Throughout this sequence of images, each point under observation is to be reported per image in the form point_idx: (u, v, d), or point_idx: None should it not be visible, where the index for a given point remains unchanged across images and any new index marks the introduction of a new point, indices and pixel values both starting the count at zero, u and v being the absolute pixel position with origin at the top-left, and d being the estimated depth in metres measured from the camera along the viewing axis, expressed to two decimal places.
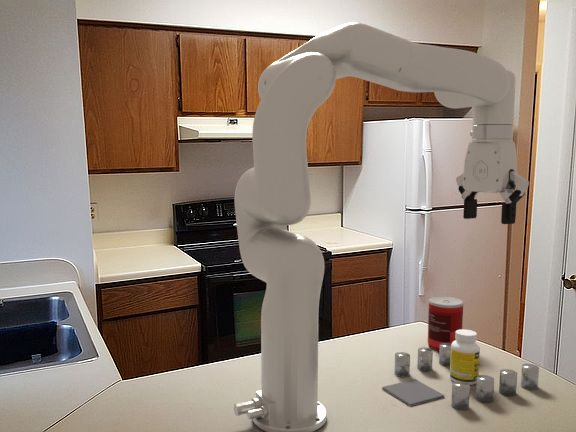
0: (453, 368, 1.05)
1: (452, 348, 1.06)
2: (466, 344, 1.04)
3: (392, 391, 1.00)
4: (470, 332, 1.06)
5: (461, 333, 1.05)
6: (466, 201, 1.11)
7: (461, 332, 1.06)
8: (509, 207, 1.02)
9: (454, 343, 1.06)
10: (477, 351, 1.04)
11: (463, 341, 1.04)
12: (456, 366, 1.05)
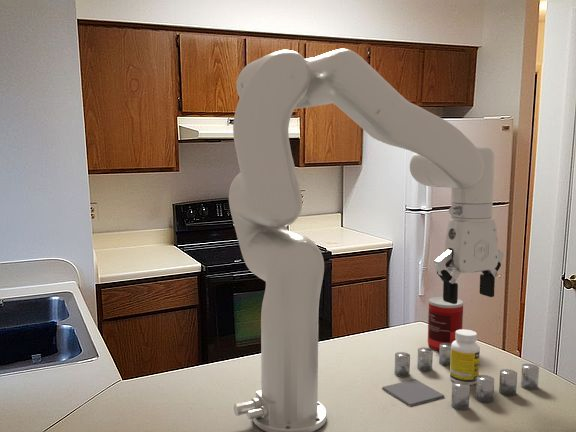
0: (453, 368, 1.05)
1: (452, 348, 1.06)
2: (466, 344, 1.04)
3: (392, 391, 1.00)
4: (470, 332, 1.06)
5: (461, 333, 1.05)
6: None
7: (461, 332, 1.06)
8: None
9: (454, 343, 1.06)
10: (477, 351, 1.04)
11: (463, 341, 1.04)
12: (456, 366, 1.05)
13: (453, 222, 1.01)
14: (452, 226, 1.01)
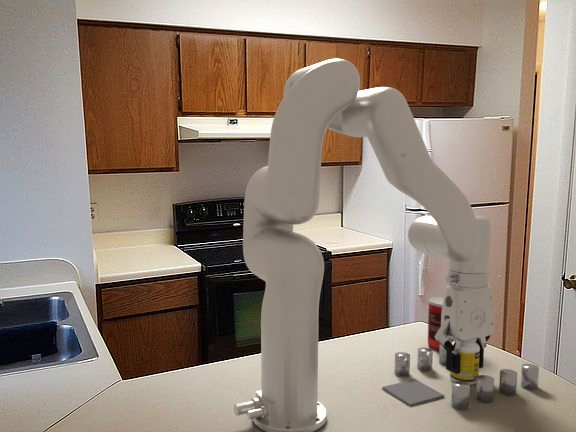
0: None
1: None
2: (466, 344, 1.04)
3: (392, 391, 1.00)
4: None
5: None
6: (460, 355, 1.03)
7: None
8: None
9: None
10: (477, 351, 1.04)
11: (463, 341, 1.04)
12: None
13: (450, 290, 1.03)
14: (449, 294, 1.03)
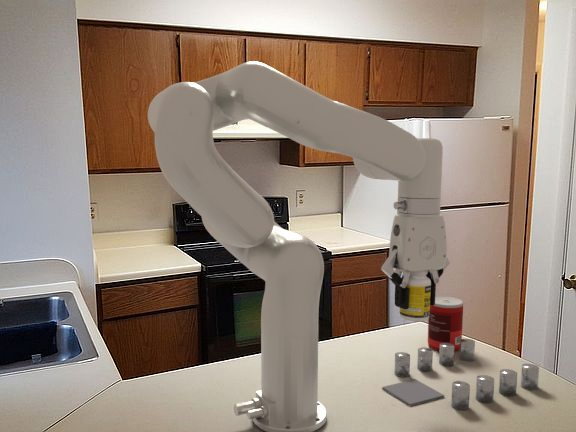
0: None
1: None
2: (416, 277, 0.96)
3: (392, 391, 1.00)
4: None
5: None
6: (408, 289, 0.96)
7: None
8: None
9: None
10: (428, 285, 0.96)
11: (412, 274, 0.97)
12: None
13: (398, 218, 0.95)
14: (397, 222, 0.95)
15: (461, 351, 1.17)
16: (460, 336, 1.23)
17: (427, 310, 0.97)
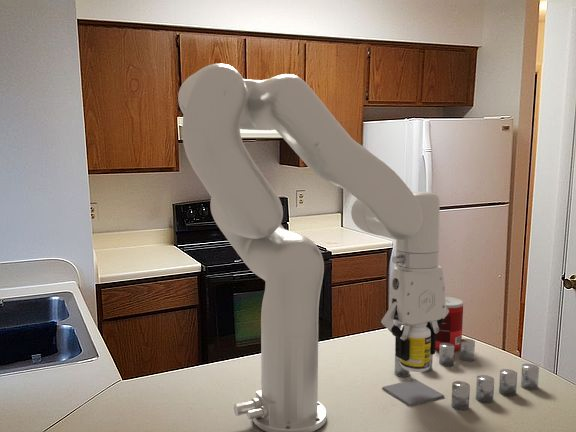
0: None
1: None
2: (416, 329, 0.98)
3: (392, 391, 1.00)
4: None
5: None
6: (408, 341, 0.97)
7: None
8: None
9: None
10: (428, 336, 0.98)
11: (412, 325, 0.98)
12: None
13: (397, 271, 0.96)
14: (396, 275, 0.96)
15: (461, 351, 1.17)
16: (460, 336, 1.23)
17: (427, 361, 0.98)
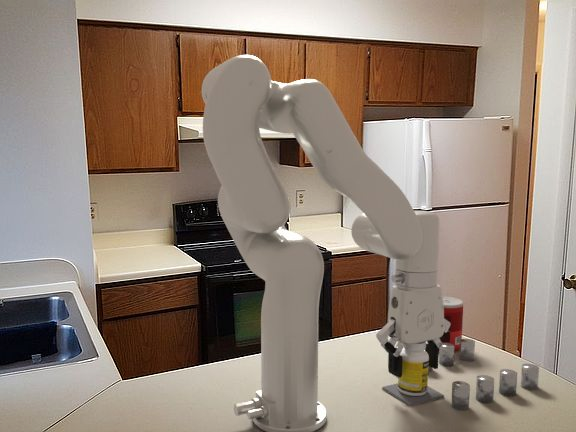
0: (400, 378, 1.00)
1: None
2: (414, 353, 0.98)
3: (392, 391, 1.00)
4: None
5: None
6: (401, 358, 0.97)
7: None
8: None
9: (402, 351, 1.00)
10: (426, 361, 0.98)
11: (410, 349, 0.98)
12: (404, 376, 0.99)
13: (396, 290, 0.96)
14: (395, 294, 0.97)
15: (461, 351, 1.17)
16: (460, 336, 1.23)
17: (425, 385, 0.99)
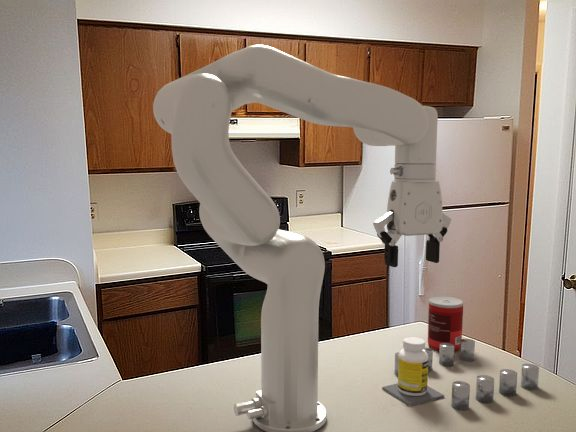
0: (400, 378, 1.00)
1: (399, 357, 1.00)
2: (413, 353, 0.98)
3: (392, 391, 1.00)
4: (418, 340, 1.00)
5: (408, 341, 0.99)
6: (397, 247, 0.99)
7: (409, 340, 1.00)
8: None
9: (401, 352, 1.00)
10: (425, 361, 0.98)
11: (410, 350, 0.98)
12: (403, 376, 0.99)
13: (394, 183, 0.99)
14: (393, 187, 0.99)
15: (461, 351, 1.17)
16: (460, 336, 1.23)
17: (425, 385, 0.99)
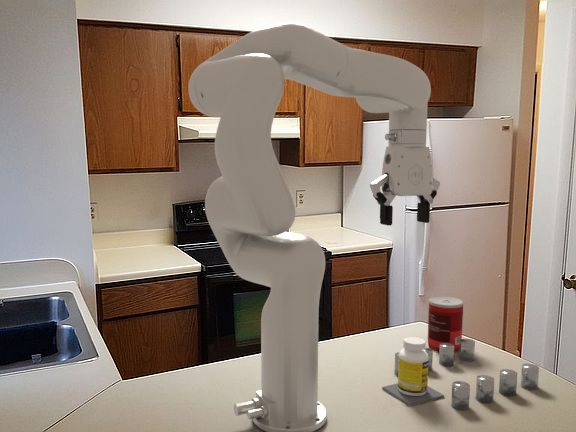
0: (400, 378, 1.00)
1: (399, 357, 1.00)
2: (414, 353, 0.98)
3: (392, 391, 1.00)
4: (418, 340, 1.00)
5: (409, 341, 0.99)
6: (392, 207, 1.07)
7: (409, 340, 1.00)
8: None
9: (402, 352, 1.00)
10: (425, 361, 0.98)
11: (410, 350, 0.98)
12: (403, 376, 0.99)
13: (389, 148, 1.07)
14: (388, 152, 1.07)
15: (461, 351, 1.17)
16: (460, 336, 1.23)
17: (425, 385, 0.99)
